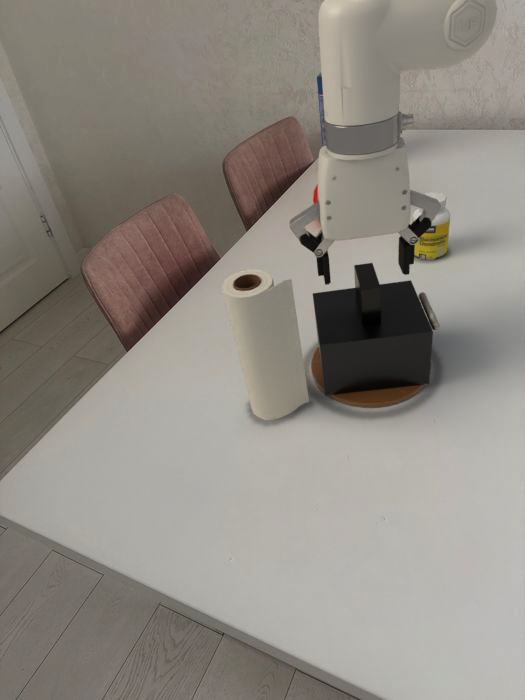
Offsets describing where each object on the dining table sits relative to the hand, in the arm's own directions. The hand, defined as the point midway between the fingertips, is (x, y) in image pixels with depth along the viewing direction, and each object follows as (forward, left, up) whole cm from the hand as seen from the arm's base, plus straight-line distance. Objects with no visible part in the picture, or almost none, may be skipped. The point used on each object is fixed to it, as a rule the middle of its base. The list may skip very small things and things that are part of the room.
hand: (364, 274), depth 63 cm
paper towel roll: (+14, +6, -17) cm, 23 cm away
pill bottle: (-16, -30, -17) cm, 38 cm away
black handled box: (0, 0, -16) cm, 16 cm away
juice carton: (-6, -82, -17) cm, 84 cm away
